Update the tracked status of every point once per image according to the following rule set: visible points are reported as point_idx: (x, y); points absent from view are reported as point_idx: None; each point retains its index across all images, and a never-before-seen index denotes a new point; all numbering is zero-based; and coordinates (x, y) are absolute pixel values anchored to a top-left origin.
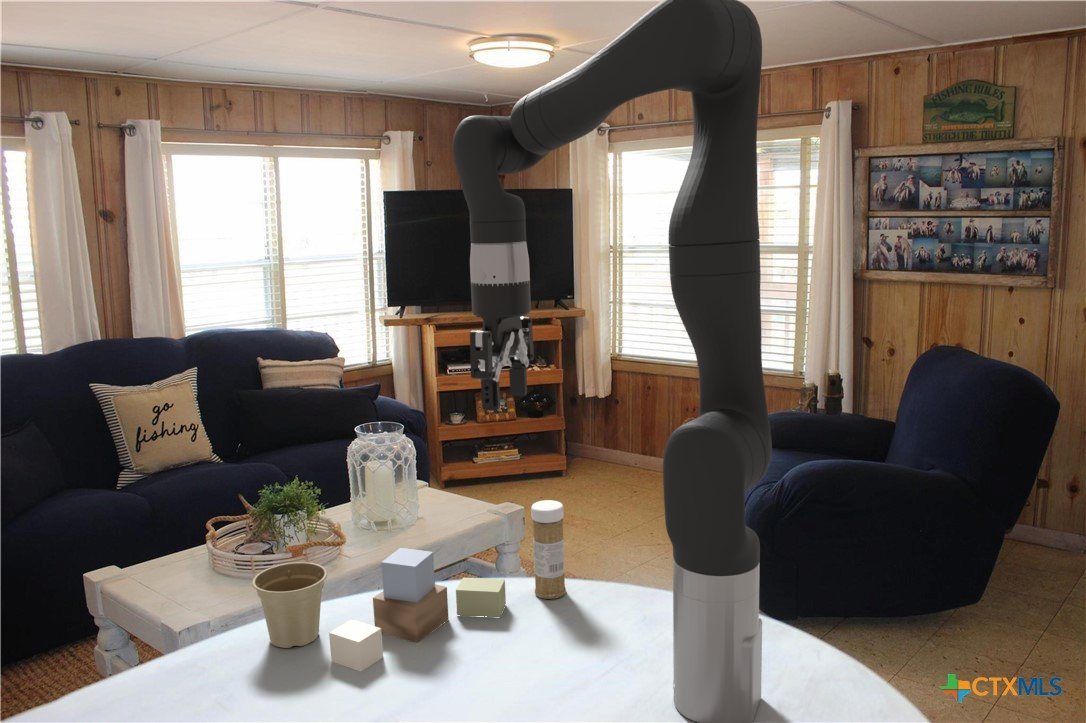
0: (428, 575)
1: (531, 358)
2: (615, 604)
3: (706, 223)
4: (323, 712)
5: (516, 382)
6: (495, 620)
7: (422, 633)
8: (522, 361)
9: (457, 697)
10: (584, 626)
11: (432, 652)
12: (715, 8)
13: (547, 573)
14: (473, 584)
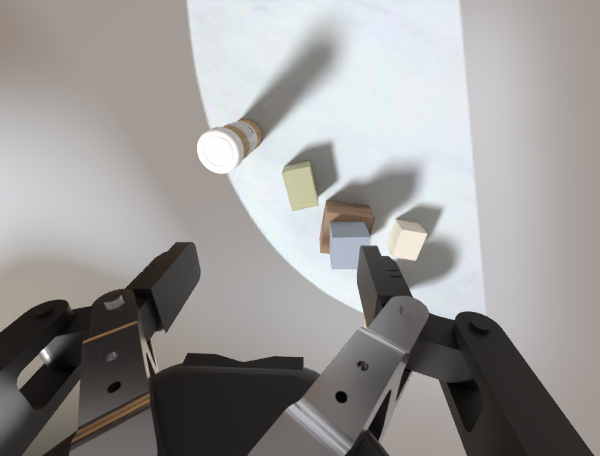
0: (342, 228)
1: (60, 306)
2: (242, 55)
3: None
4: (475, 218)
5: (181, 283)
6: (314, 162)
7: (362, 206)
8: (139, 314)
9: (444, 135)
10: (298, 71)
11: (380, 187)
12: None
13: (255, 134)
14: (302, 195)
